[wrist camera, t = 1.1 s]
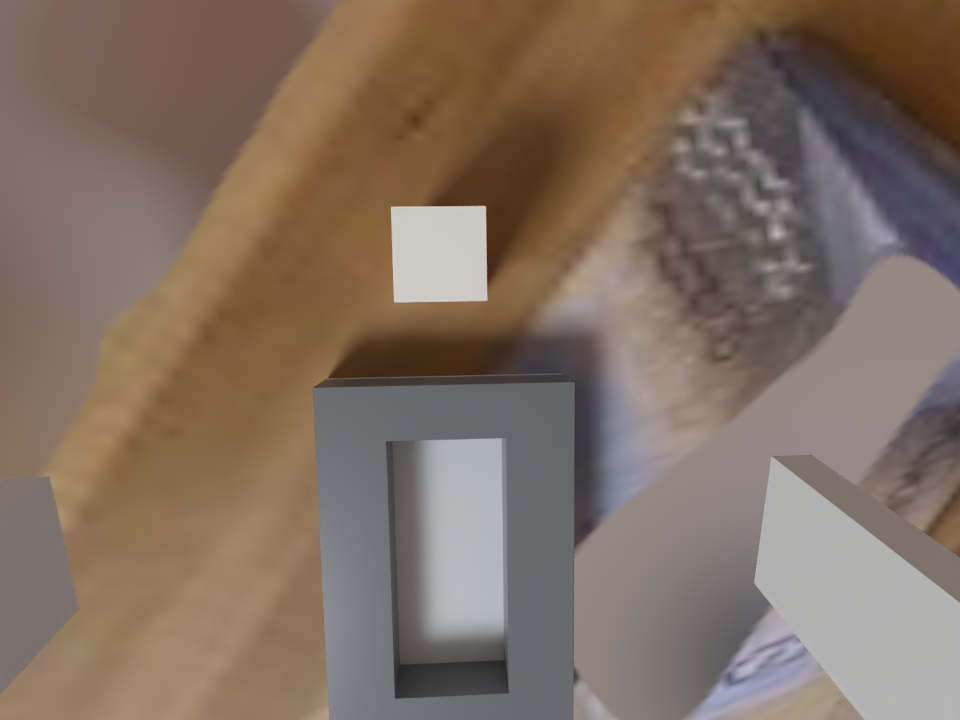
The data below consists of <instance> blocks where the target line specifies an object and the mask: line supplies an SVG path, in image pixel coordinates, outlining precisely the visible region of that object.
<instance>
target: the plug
mask: <svg viewBox="0 0 960 720" xmlns="http://www.w3.org/2000/svg"><path fill="white" fill-rule="evenodd" d="M391 220H392V252H393V283H394V302H447V301H487V245H486V206H425V207H391Z"/></svg>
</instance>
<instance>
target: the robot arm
mask: <svg viewBox="0 0 960 720" xmlns="http://www.w3.org/2000/svg"><path fill="white" fill-rule="evenodd" d="M754 583H755V585H756V586H757V587H758V588H759V590H760V591H761V592H762V593H763V595H764V596H765V597H766V598H767V600H768V601H769V602H770V603H771V604H772V606H773V607H774V608H775V609H776V611H777V612H778V613H779V614H780V616H781V617H782V618H783V619H784V621H785V622H786V623H787V624H788V626H789V627H790V628H791V629H792V631H793V632H794V633H795V634H796V636H797V637H798V638H799V639H800V641H801V642H802V643H803V644H804V646H805V647H806V648H807V649H808V651H809V652H810V653H811V654H812V655H813V657H814V658H815V659H816V660H817V662H818V663H819V664H820V665H821V667H822V668H823V669H824V670H825V672H826V673H827V674H828V675H829V677H830V678H831V679H832V680H833V682H834V683H835V684H836V685H837V687H838V688H839V689H840V690H841V692H842V693H843V694H844V695H845V697H846V698H847V699H848V700H849V701H850V703H851V704H852V705H853V706H854V708H855V709H856V710H857V711H858V713H859V714H860V715H861V716H862V718H863V719H864V720H960V557H958V556H957V555H955V554H954V553H953V552H951V551H950V550H948V549H947V548H945V547H944V546H942V545H941V544H940V543H938V542H937V541H935V540H934V539H932V538H931V537H929V536H928V535H926V534H925V533H924V532H922V531H921V530H919V529H918V528H916V527H915V526H913V525H912V524H910V523H909V522H908V521H906V520H905V519H903V518H902V517H900V516H899V515H897V514H896V513H895V512H893V511H892V510H890V509H889V508H887V507H886V506H884V505H883V504H881V503H880V502H879V501H877V500H876V499H874V498H873V497H871V496H870V495H868V494H867V493H866V492H864V491H863V490H861V489H860V488H858V487H857V486H855V485H854V484H852V483H851V482H850V481H848V480H847V479H845V478H844V477H842V476H841V475H839V474H838V473H837V472H835V471H833V470H832V469H830V468H829V467H828V466H826V465H825V464H823V463H822V462H821V461H819V460H818V459H816V458H815V457H813V456H812V455H799V456H772V457H771V464H770V472H769V479H768V486H767V493H766V501H765V508H764V515H763V523H762V530H761V537H760V545H759V552H758V559H757V567H756V574H755V582H754ZM78 610H79V605H78V600H77V596H76V591H75V587H74V582H73V578H72V574H71V569H70V565H69V560H68V556H67V551H66V547H65V543H64V538H63V534H62V529H61V525H60V520H59V516H58V512H57V507H56V503H55V498H54V494H53V489H52V485H51V481H50V477H22V478H21V477H20V478H4V479H2V480H1V481H0V694H1V693H2V692H3V691H4V690H5V688H6V687H7V686H8V685H9V684H10V683H11V682H12V681H13V680H14V679H15V678H16V677H17V676H18V674H19V673H20V672H21V671H22V670H23V669H24V668H25V667H26V666H27V665H28V664H29V663H30V662H31V661H32V659H33V658H34V657H35V656H36V655H37V654H38V653H39V652H40V651H41V650H42V649H43V648H44V647H45V645H46V644H47V643H48V642H49V641H50V640H51V639H52V638H53V637H54V636H55V635H56V634H57V633H58V631H59V630H60V629H61V628H62V627H63V626H64V625H65V624H66V623H67V622H68V621H69V620H70V619H71V617H72V616H73V615H74V614H75V613H76V612H77V611H78Z"/></svg>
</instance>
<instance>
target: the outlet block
mask: <svg viewBox="0 0 960 720" xmlns="http://www.w3.org/2000/svg"><path fill="white" fill-rule="evenodd" d="M313 402H314V423H315V443H316V463H317V483H318V504H319V524H320V544H321V564H322V585H323V605H324V625H325V645H326V666H327V686H328V706H329V720H573V684H574V452H575V382H574V381H573V380H571V379H570V378H568V377H567V376H566V375H564V374H563V373H551V374H504V375H457V376H410V377H363V378H327V379H326V380H324V381H322V382H321V383H319V384H318V385H316V386H315V387H313Z"/></svg>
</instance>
